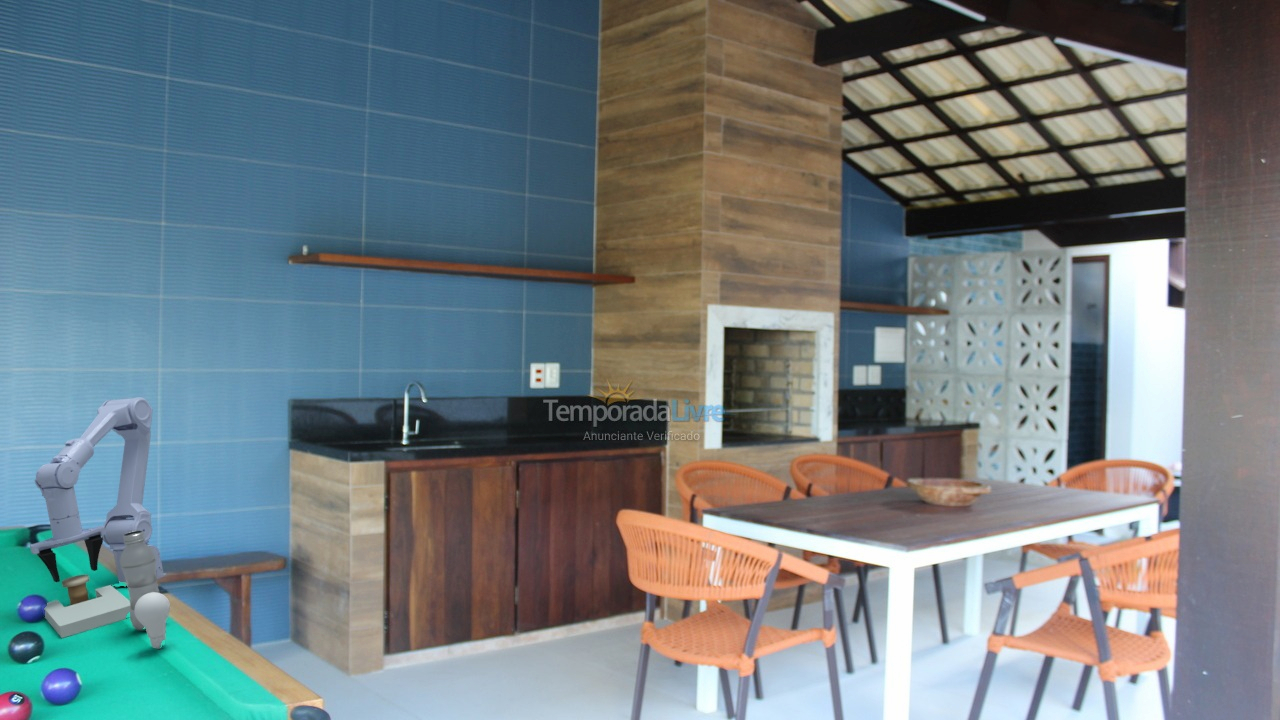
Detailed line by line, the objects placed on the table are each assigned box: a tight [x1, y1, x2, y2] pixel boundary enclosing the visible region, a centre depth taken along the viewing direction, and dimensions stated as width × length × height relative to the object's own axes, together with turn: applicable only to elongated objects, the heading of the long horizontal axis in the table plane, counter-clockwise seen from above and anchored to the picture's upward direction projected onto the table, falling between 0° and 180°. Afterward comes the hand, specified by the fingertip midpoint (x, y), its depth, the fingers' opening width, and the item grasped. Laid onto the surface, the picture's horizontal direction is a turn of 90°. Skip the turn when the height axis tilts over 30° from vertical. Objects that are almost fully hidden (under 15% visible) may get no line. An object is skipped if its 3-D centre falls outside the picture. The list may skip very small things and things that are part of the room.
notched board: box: [44, 584, 131, 639], centre depth 215 cm, size 22×14×2 cm, turn 40°
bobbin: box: [61, 574, 90, 605], centre depth 220 cm, size 5×5×7 cm
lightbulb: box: [134, 592, 171, 650], centre depth 189 cm, size 6×6×11 cm
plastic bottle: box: [120, 531, 160, 631], centre depth 201 cm, size 6×7×20 cm
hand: (75, 575), depth 220 cm, fingers open, 7 cm apart
